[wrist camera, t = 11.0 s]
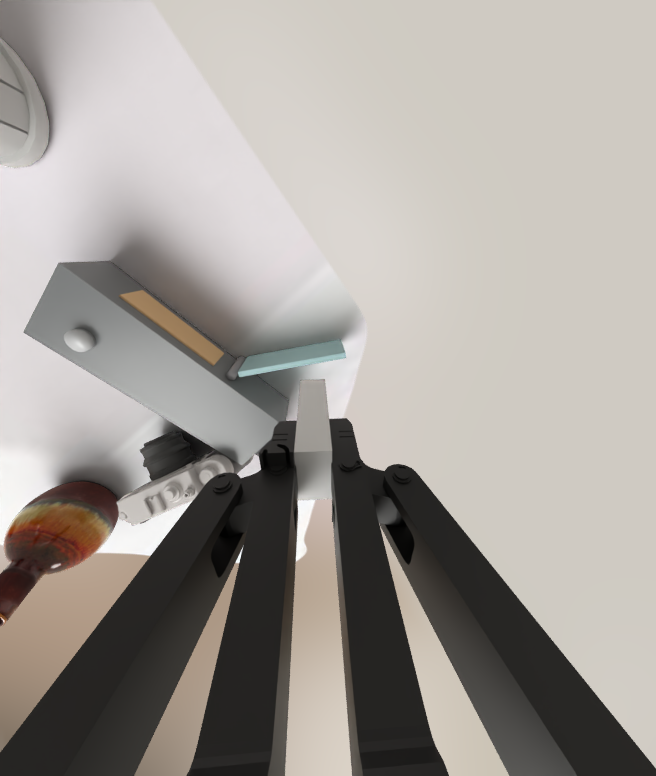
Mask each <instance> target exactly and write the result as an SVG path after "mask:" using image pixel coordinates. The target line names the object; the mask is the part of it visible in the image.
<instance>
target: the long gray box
mask: <svg viewBox="0 0 656 776" xmlns="http://www.w3.org/2000/svg"><path fill="white" fill-rule="evenodd" d="M24 333H25V334H27V335H28V336H30V337H32V338H33V339H35V340H37V341H38V342H40V343H42V344H43V345H45V346H47V347H48V348H50V349H51V350H53V351H55V352H56V353H58V354H60V355H61V356H63V357H65V358H66V359H68V360H70V361H71V362H73V363H74V364H76V365H78V366H79V367H81V368H83V369H84V370H86V371H88V372H89V373H91V374H93V375H94V376H96V377H97V378H99V379H101V380H102V381H104V382H106V383H107V384H109V385H111V386H112V387H114V388H116V389H117V390H119V391H120V392H122V393H124V394H125V395H127V396H129V397H130V398H132V399H134V400H135V401H137V402H139V403H140V404H142V405H143V406H145V407H147V408H148V409H150V410H152V411H153V412H155V413H157V414H158V415H160V416H161V417H163V418H165V419H166V420H168V421H170V422H171V423H173V424H175V425H176V426H178V427H180V428H181V429H183V430H184V431H186V432H188V433H189V434H191V435H193V436H194V437H196V438H198V439H199V440H201V441H203V442H204V443H206V444H207V445H209V446H211V447H212V448H214V449H216V450H217V451H219V452H221V453H222V454H224V455H226V456H227V457H229V458H230V459H232V460H234V461H235V462H237V463H239V464H240V465H243V464H245V463H246V462H247V461H248V460H249V459H250V458H251V457H252V456H253V455H254V454H256V455H257V456H259V452H260V450H261V449H262V448H263V447H264V446H266V445H268V444H270V443H271V441H272V436H273V431H274V427H275V426H276V425H277V424H278V423H279V421H286V415H287V409H288V403H289V400H288V399H287V398H285V397H284V396H283V395H281V394H280V393H279V392H278V391H276V390H275V389H274V388H272V387H271V386H270V385H269V384H267V383H266V382H265V381H263V380H262V379H261V378H260V377H258V376H257V375H256V374H255V375H249V376H244V377H239V375H237V377H236V379H235V380H229V379H228V378H227V377H226V374H227V373H228V371H229V370H230V368H231V367H232V366H233V364H234V363H235V362H236V359H235V358H234V357H233V356H231V355H230V354H229V353H227V352H226V351H225V350H224V349H222V348H221V347H220V346H218V345H217V344H216V343H215V342H213V341H212V340H211V339H209V338H208V337H207V336H206V335H204V334H203V333H202V332H200V331H199V330H198V329H197V328H195V327H194V326H193V325H191V324H190V323H189V322H188V321H186V320H185V319H184V318H182V317H181V316H180V315H179V314H177V313H176V312H175V311H173V310H172V309H171V308H170V307H168V306H167V305H166V304H164V303H163V302H162V301H161V300H159V299H158V298H157V297H155V296H154V295H153V294H152V293H150V292H149V291H148V290H146V289H145V288H144V287H143V286H141V285H140V284H139V283H137V282H136V281H135V280H134V279H132V278H131V277H130V276H128V275H127V274H126V273H125V272H123V271H122V270H121V269H119V268H118V267H117V266H116V265H114V264H113V263H112V262H110V261H97V262H66V263H58V265H57V267H56V269H55V271H54V273H53V275H52V277H51V279H50V281H49V283H48V285H47V287H46V289H45V291H44V293H43V295H42V297H41V299H40V301H39V303H38V305H37V307H36V308H35V310H34V312H33V314H32V316H31V318H30V320H29V322H28V324H27V326H26V328H25V330H24Z"/></svg>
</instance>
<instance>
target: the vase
mask: <svg viewBox="0 0 656 776" xmlns="http://www.w3.org/2000/svg"><path fill="white" fill-rule="evenodd" d="M118 515H119V511H118V505H117V498H116V497H115V495H114V494H113V493H112V492H111V491H110V490H108V489H107V488H105V487H103V486H101V485H99V484H96V483H92V482H85V481H78V482H70V483H66V484H62V485H60V486H57V487H54V488H52V489H50V490H48V491H47V492H45V493H43V494H41V495H40V496H38V497H37V498H35V499H34V500H32V501H31V502H30V503H29V504H27V505H26V506H25V507H24V508H23V509H22V510H21V511H20V512H19V513H18V514H17V515H16V517H15V518H14V519H13V521H12V522H11V524H10V526H9V527H8V530H7V532H6V535H5V539H4V553H5V556H6V559H7V560H8V562H9V565H8V566H7V567H6V568H5V570H3V572H2V573H1V574H0V626H2V625H4V624H5V623H6V622H7V621H8V619H9V618H10V617H11V616H12V614H13V613H14V611H15V610H16V609H17V607H18V606H19V605H20V604H21V602H22V601H23V600H24V598H25V597H26V596H27V594H28V593H29V592H30V591H31V589H32V588H33V587H34V586H35V584H36V583H37V582H38V581H39V580H40V579H41V578H42V577H43V576H44V575H49V574H54V573H58V572H62V571H65V570H68V569H70V568H72V567H74V566H76V565H78V564H80V563H82V562H84V561H85V560H87V559H88V558H89V557H91V556H92V555H93V554H94V553H96V552H97V551H98V550H99V549H100V548H101V547H102V545H103V544H104V543H105V542H106V541H107V539H108V538H109V536H110V535H111V533H112V531H113V529H114V527H115V525H116V522H117V520H118Z"/></svg>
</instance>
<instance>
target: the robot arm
mask: <svg viewBox="0 0 656 776" xmlns="http://www.w3.org/2000/svg"><path fill="white" fill-rule="evenodd" d="M259 459H260V465H261V470H260V471H259V472H257V473H256V474H253V475H251V476H247V477H244V478H241V479H240V477H239V476H238V475H237V474H235V473H232V472H229V473H222V474H218V475H216V476H215V477H213V478H211V479H210V480H209V481H208V482H207V483H206V484H205V486H204V487H203V488H202V490H201V491H200V492H199V494H198V495H197V496H196V497H195V499H194V500H193V501H192V503H191V504H190V505H189V507H188V508H187V509H186V511H185V512H184V513H183V514H182V516H181V517H180V518H179V520H178V521H177V522H176V524H175V525H174V526H173V528H172V529H171V530H170V531H169V533H168V534H167V535H166V537H165V538H164V539H163V541H162V542H161V543H160V545H159V546H158V547H157V548H156V550H155V551H154V552H153V554H152V555H151V556H150V558H149V559H148V560H147V562H146V563H145V564H144V565H143V567H142V568H141V569H140V571H139V572H138V573H137V575H136V576H135V577H134V579H133V580H132V581H131V583H130V584H129V585H128V587H127V588H126V589H125V590H124V592H123V593H122V594H121V596H120V597H119V598H118V599H117V601H116V602H115V603H114V605H113V606H112V607H111V609H110V610H109V611H108V613H107V614H106V615H105V617H104V618H103V619H102V620H101V622H100V623H99V624H98V626H97V627H96V629H95V630H94V631H93V632H92V634H91V635H90V636H89V637H88V639H87V640H86V641H85V643H84V644H83V645H82V647H81V648H80V649H79V650H78V652H77V653H76V654H75V656H74V657H73V658H72V660H71V661H70V662H69V664H68V665H67V666H66V668H65V669H64V670H63V671H62V673H61V674H60V675H59V677H58V678H57V679H56V681H55V682H54V683H53V684H52V686H51V687H50V688H49V690H48V691H47V692H46V694H45V695H44V696H43V697H42V699H41V700H40V702H39V703H38V704H37V705H36V707H35V708H34V709H33V711H32V712H31V713H30V714H29V716H28V717H27V718H26V720H25V721H24V722H23V724H22V725H21V726H20V728H19V729H18V730H17V731H16V733H15V734H14V735H13V737H12V738H11V739H10V741H9V742H8V743H7V745H6V746H5V747H4V748H3V750H2V751H1V752H0V776H134V774H135V772H136V770H137V768H138V766H139V764H140V762H141V760H142V758H143V756H144V753H145V751H146V749H147V747H148V745H149V743H150V741H151V738H152V737H153V735H154V732H155V730H156V728H157V726H158V724H159V722H160V720H161V718H162V716H163V713H164V711H165V709H166V707H167V705H168V703H169V701H170V699H171V697H172V695H173V692H174V690H175V688H176V686H177V684H178V682H179V680H180V677H181V676H182V673H183V671H184V669H185V667H186V665H187V663H188V661H189V659H190V657H191V655H192V652H193V650H194V648H195V646H196V644H197V642H198V640H199V638H200V635H201V633H202V631H203V629H204V627H205V625H206V623H207V621H208V619H209V616H210V615H211V612H212V610H213V608H214V606H215V604H216V602H217V600H218V598H219V596H220V593H221V591H222V589H223V587H224V585H225V583H226V581H227V579H228V577H229V574H230V572H231V570H232V568H233V566H234V564H235V562H236V560H237V558H238V556H239V553H240V551H241V549H242V547H243V550H242V555H241V559H240V563H239V568H238V572H237V576H236V580H235V585H234V590H233V593H232V598H231V602H230V606H229V611H228V615H227V620H226V624H225V628H224V633H223V637H222V641H221V645H220V650H219V654H218V658H217V663H216V667H215V671H214V675H213V680H212V684H211V688H210V693H209V697H208V701H207V706H206V710H205V714H204V719H203V723H202V727H201V731H200V736H199V740H198V744H197V748H196V752H195V756H194V759H193V762H192V765H191V768H190V770H189V772H188V774H187V776H285V758H286V740H287V720H288V700H289V681H290V680H289V679H290V661H291V641H292V621H293V602H294V600H293V599H294V581H295V562H296V542H297V523H298V505H297V501H298V500H318V499H332V522H333V528H334V541H335V555H336V568H337V580H338V594H339V607H340V621H341V634H342V646H343V660H344V673H345V686H346V700H347V713H348V726H349V738H350V751H351V765H352V776H449V775H448V772H447V769H446V766H445V764H444V761H443V759H442V758H441V756H440V754H439V752H438V750H437V748H436V746H435V744H434V741H433V738H432V735H431V731H430V728H429V724H428V720H427V716H426V712H425V708H424V704H423V700H422V696H421V692H420V688H419V683H418V679H417V675H416V671H415V667H414V663H413V659H412V655H411V651H410V647H409V643H408V639H407V635H406V631H405V627H404V623H403V619H402V614H401V610H400V606H399V603H398V599H397V595H396V590H395V586H394V582H393V578H392V574H391V570H390V566H389V562H388V558H387V554H386V550H385V546H384V541H383V537H382V534H381V530H380V526H381V528H382V530H383V532H384V534H385V536H386V538H387V539H388V542H389V543H390V545H391V547H392V549H393V551H394V553H395V555H396V557H397V559H398V561H399V563H400V565H401V567H402V569H403V571H404V572H405V574H406V576H407V578H408V580H409V582H410V584H411V586H412V588H413V590H414V592H415V594H416V596H417V598H418V599H419V602H420V603H421V605H422V607H423V609H424V611H425V613H426V615H427V617H428V619H429V621H430V623H431V625H432V627H433V629H434V630H435V632H436V634H437V636H438V638H439V640H440V642H441V644H442V646H443V648H444V650H445V652H446V654H447V656H448V658H449V659H450V661H451V663H452V665H453V667H454V669H455V671H456V673H457V675H458V677H459V679H460V681H461V683H462V685H463V687H464V689H465V691H466V692H467V694H468V696H469V698H470V700H471V702H472V704H473V706H474V708H475V710H476V712H477V714H478V716H479V718H480V720H481V722H482V723H483V725H484V727H485V729H486V731H487V733H488V735H489V737H490V739H491V741H492V743H493V745H494V746H495V749H496V751H497V753H498V754H499V756H500V758H501V760H502V762H503V764H504V766H505V768H506V770H507V772H508V774H509V776H656V768H655V767H654V766H653V765H652V763H651V762H650V761H649V760H648V758H647V757H646V756H645V755H644V753H643V752H642V751H641V750H640V748H639V747H638V746H637V745H636V744H635V742H634V741H633V740H632V739H631V737H630V736H629V735H628V734H627V732H626V731H625V730H624V729H623V727H622V726H621V725H620V724H619V723H618V721H617V720H616V719H615V718H614V716H613V715H612V714H611V713H610V711H609V710H608V709H607V708H606V707H605V705H604V704H603V703H602V702H601V700H600V699H599V698H598V697H597V695H596V694H595V693H594V692H593V690H592V689H591V688H590V687H589V685H588V684H587V683H586V682H585V680H584V679H583V678H582V677H581V676H580V674H579V673H578V672H577V671H576V670H575V668H574V667H573V666H572V665H571V663H570V662H569V661H568V660H567V658H566V657H565V656H564V654H563V653H562V652H561V651H560V650H559V648H558V647H557V646H556V645H555V644H554V642H553V641H552V640H551V638H550V637H549V636H548V635H547V633H546V632H545V631H544V630H543V628H542V627H541V626H540V625H539V624H538V622H536V620H535V619H534V617H533V616H532V615H531V614H530V613H529V611H528V610H527V609H526V608H525V606H524V605H523V604H522V603H521V602H520V600H519V599H518V598H517V596H516V595H515V594H514V593H513V592H512V590H511V589H510V588H509V586H508V585H507V584H506V583H505V582H504V580H503V579H502V578H501V577H500V575H499V574H498V573H497V572H496V570H495V569H494V568H493V567H492V565H491V564H490V563H489V562H488V561H487V559H486V558H485V557H484V556H483V554H482V553H481V552H480V551H479V549H478V548H477V547H476V546H475V544H474V543H473V542H472V541H471V539H470V538H469V537H468V536H467V534H466V533H465V532H464V531H463V530H462V528H461V527H460V526H459V525H458V523H457V522H456V521H455V520H454V518H453V517H452V516H451V515H450V514H449V512H448V511H447V510H446V509H445V508H444V506H443V505H442V504H441V502H440V501H439V500H438V499H437V497H436V496H435V495H434V494H433V492H432V491H431V490H430V489H429V487H428V486H427V485H426V484H425V483H424V481H423V480H422V479H421V478H420V476H419V475H418V474H417V473H416V472H415V471H414V470H413V469H412V468H410V467H408V466H405V465H400V464H396V465H391V466H389V467H387V469H386V470H385V471H381V470H377V469H373V468H370V467H368V466H367V465H365V464H364V463H363V461H362V460H361V459H360V456H359V452H358V448H357V443H356V439H355V435H354V432H353V426H352V424H351V422H350V421H349V420H348V419H346V418H344V419H329V415H328V405H327V395H326V386H325V379H321V380H300V392H299V403H298V414H297V421H279V423H278V424H277V425H276V426H275V427H274V431H273V436H272V441H271V443H270V444H268V445H266V446H264V447H263V448H262V449H261V450H260V452H259ZM379 523H380V525H379ZM243 545H244V546H243Z"/></svg>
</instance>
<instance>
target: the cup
mask: <svg viewBox="0 0 656 776" xmlns="http://www.w3.org/2000/svg"><path fill="white" fill-rule="evenodd" d="M48 139H49V120H48V116H47V111H46V106H45V102H44V100H43V97H42V95H41V93H40V91H39V88H38V86H37V84H36V82H35V80H34V77H33V76H32V75H31V73H30V72H29V70H28V69H27V67H26V66H25V65H24V63H23V62H22V60H21V59H20V57H19V56H18V54H17V53H16V52H15V51H14V50H13V49H12V48H11V47H10V46H9V45H8V44H7V43H6V42H5V41H4V40H3V39H2V38H1V37H0V165H2V166H6V167H10V168H20V167H27V166H31V165H32V164H33V163H35V162H36V161H38V160H39V159H40V158H41V157H42V155H43V153H44V151H45V149H46V147H47V145H48Z"/></svg>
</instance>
